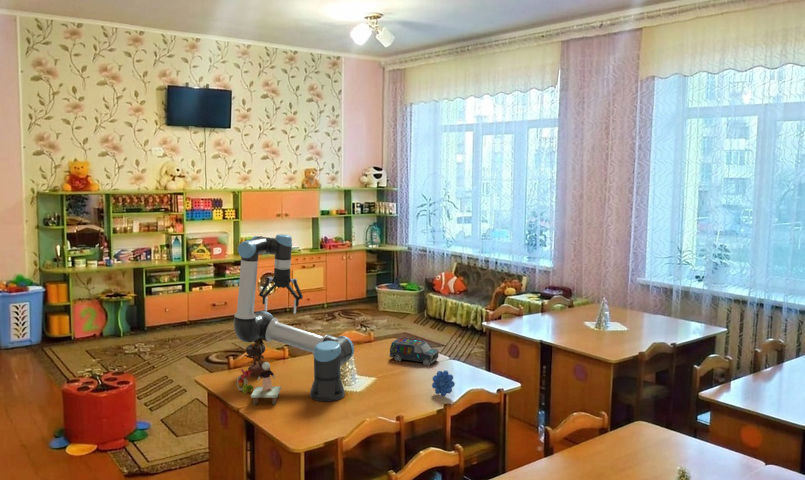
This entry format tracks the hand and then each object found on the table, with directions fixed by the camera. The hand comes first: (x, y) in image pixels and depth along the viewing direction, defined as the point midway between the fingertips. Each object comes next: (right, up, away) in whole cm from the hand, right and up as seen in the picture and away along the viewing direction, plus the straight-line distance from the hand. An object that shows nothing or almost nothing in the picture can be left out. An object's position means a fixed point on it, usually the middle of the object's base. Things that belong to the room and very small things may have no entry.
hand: (280, 312), depth 310 cm
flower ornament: (-14, -35, -13) cm, 40 cm away
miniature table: (-2, -36, -24) cm, 43 cm away
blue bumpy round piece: (+76, -36, -15) cm, 86 cm away
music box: (-13, -31, +12) cm, 36 cm away
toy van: (+64, -30, +37) cm, 79 cm away
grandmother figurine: (-2, -32, -24) cm, 40 cm away
